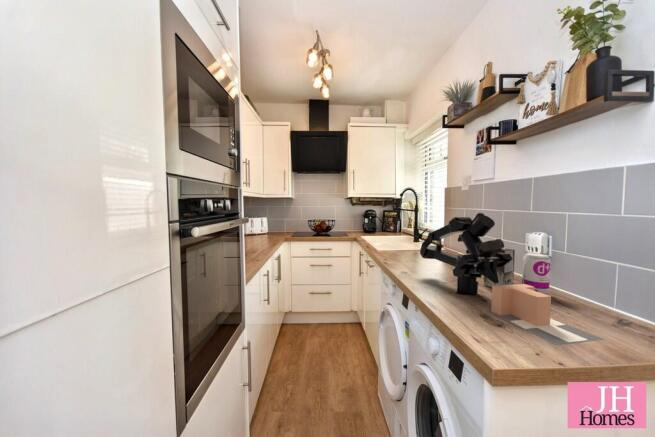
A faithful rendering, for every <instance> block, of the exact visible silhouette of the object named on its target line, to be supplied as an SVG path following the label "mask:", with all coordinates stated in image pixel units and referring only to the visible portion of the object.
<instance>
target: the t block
mask: <svg viewBox="0 0 655 437" xmlns="http://www.w3.org/2000/svg"><path fill="white" fill-rule="evenodd" d="M534 290H535V287H533V286H529V285H526V284H522V283H520V284H519V283H517V284H514V285H497V286H492V287H491V308H490V310H491V311H492V312H494V313H496V314H498V315H513V316H515V317H518V318H520V319H522V320H524V321H526V322H529V323H531V324H533V325H535V326H542V325H550V318H551V309H552V307H551V306H552V296H551V295H550V294H549V295H546V294H543V293H539V292H536V291H534Z"/></svg>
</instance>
